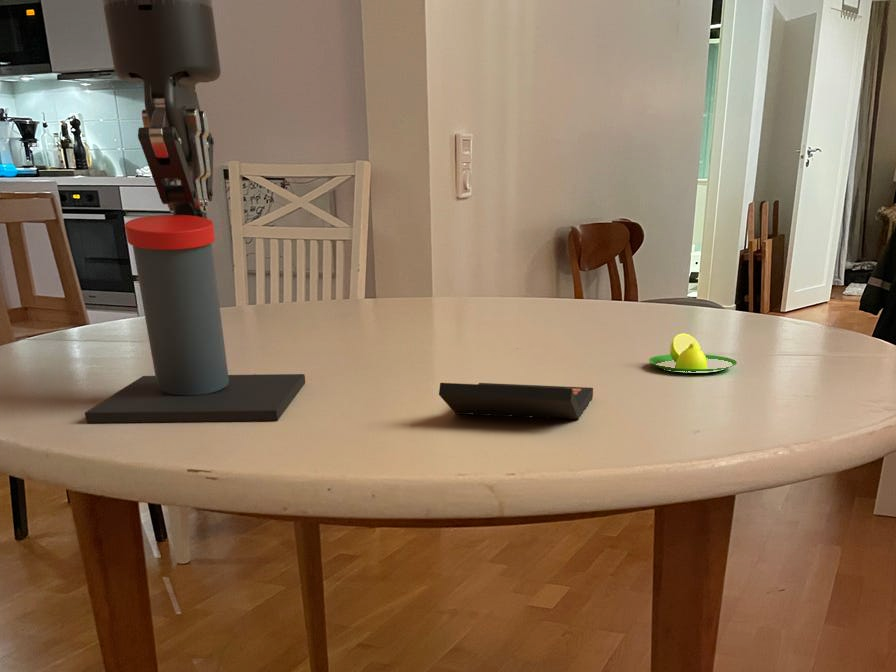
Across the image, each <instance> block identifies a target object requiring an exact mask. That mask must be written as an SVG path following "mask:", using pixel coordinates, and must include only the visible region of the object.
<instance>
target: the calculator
mask: <svg viewBox="0 0 896 672" xmlns="http://www.w3.org/2000/svg"><path fill="white" fill-rule="evenodd" d="M438 396H439V397H440V399H442V400H443V402H445V404H446V405H447V406H448V407H449V408H450V409H451V410H452V412H454V414H456V413H473V414H472V415H475V414H490V415H489V416H495V415H512V416H511V417H514V416H532V417H531V418H534V417H550V418H549V419H553V418H568V419H567V420H573V419H579V417H580V416H581V414H582V413H583V411H584V410H585V408H586V407H587V405H588V404H589V402H590V401H591V402H592V400H593V399H592V398H594V387H586V386H585V387H583V386H564V385H563V386H562V385H561V386H560V385H538V384H518V383H517V384H516V383H514V384H513V383H493V382H492V383H491V382H478V383H477V384H475V383H457V382H456V383H455V382H452V383H451V382H439V390H438ZM591 399H592V400H591ZM591 402H590V403H591ZM589 405H590V404H589ZM589 405H588V406H589ZM587 408H588V407H587ZM587 408H586V409H587ZM585 411H586V410H585ZM585 411H584V412H585ZM583 414H584V413H583ZM583 414H582V415H583ZM581 417H582V416H581ZM581 417H580V418H581ZM579 420H580V419H579Z"/></svg>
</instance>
